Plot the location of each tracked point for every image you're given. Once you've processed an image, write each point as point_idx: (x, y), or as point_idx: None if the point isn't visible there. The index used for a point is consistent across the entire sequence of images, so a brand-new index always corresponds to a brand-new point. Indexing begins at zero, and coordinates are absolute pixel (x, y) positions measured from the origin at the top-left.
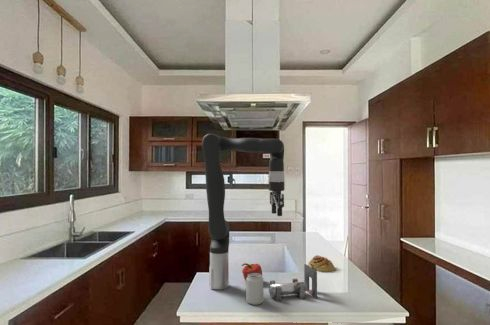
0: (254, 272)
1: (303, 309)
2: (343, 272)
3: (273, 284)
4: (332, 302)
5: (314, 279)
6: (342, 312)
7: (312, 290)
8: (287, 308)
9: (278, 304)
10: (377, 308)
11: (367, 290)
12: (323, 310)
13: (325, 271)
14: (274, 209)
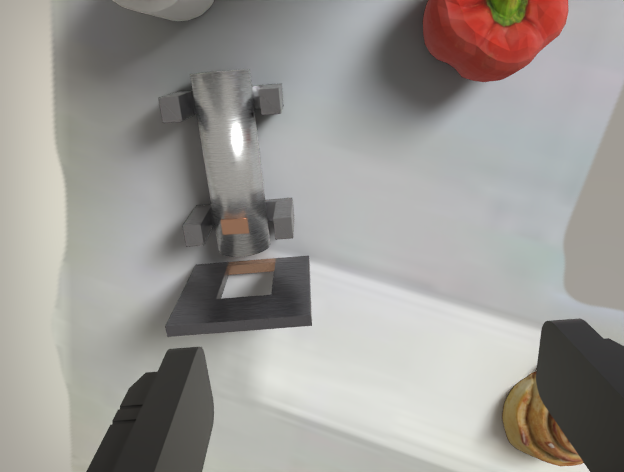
0: (433, 14)
1: (86, 185)
2: (474, 462)
3: (222, 93)
4: (154, 314)
5: (181, 304)
6: (59, 314)
7: (217, 274)
8: (97, 120)
9: (143, 91)
10: (95, 427)
11: (259, 462)
12: (76, 257)
13: (504, 405)
14: (586, 417)
